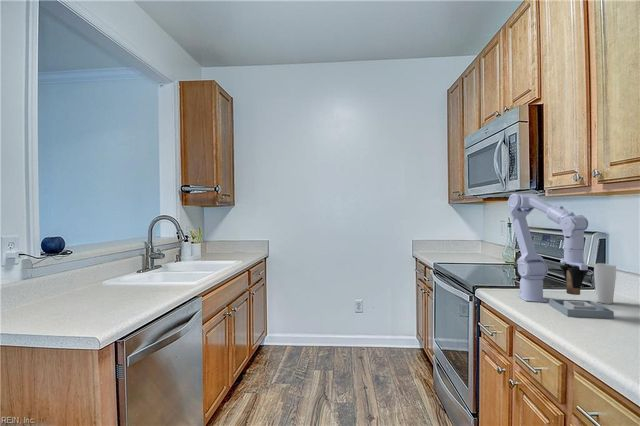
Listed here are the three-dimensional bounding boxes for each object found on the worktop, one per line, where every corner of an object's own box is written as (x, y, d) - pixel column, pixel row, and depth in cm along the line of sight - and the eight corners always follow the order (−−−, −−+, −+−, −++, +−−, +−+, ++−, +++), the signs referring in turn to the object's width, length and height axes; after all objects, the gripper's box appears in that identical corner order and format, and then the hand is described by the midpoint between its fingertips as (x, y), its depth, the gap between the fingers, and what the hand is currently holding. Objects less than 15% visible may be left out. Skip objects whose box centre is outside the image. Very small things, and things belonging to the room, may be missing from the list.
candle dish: (549, 305, 135) (549, 298, 135) (590, 307, 132) (590, 299, 132) (567, 316, 121) (567, 308, 121) (613, 318, 119) (613, 310, 119)
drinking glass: (589, 301, 140) (590, 264, 140) (600, 299, 143) (601, 263, 143) (608, 305, 134) (609, 266, 134) (619, 303, 137) (620, 265, 136)
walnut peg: (564, 291, 128) (564, 270, 128) (576, 292, 127) (576, 270, 127) (569, 294, 124) (570, 272, 124) (582, 295, 123) (582, 272, 123)
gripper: (552, 246, 133) (551, 281, 133) (571, 251, 119) (570, 291, 119) (573, 246, 132) (572, 282, 132) (594, 251, 117) (594, 291, 118)
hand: (573, 286), depth 125 cm, fingers closed on walnut peg, 4 cm apart
